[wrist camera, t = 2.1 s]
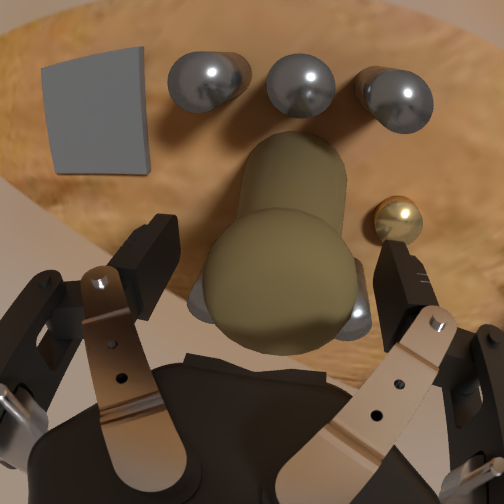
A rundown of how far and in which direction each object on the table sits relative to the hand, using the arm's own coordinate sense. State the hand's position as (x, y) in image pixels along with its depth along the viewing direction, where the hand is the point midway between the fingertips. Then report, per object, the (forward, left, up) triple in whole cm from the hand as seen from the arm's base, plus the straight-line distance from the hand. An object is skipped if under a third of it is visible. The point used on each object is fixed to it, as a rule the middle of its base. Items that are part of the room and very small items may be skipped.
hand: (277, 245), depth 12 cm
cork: (0, 0, -8) cm, 8 cm away
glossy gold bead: (-7, +2, -8) cm, 10 cm away
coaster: (+13, -4, -7) cm, 15 cm away
